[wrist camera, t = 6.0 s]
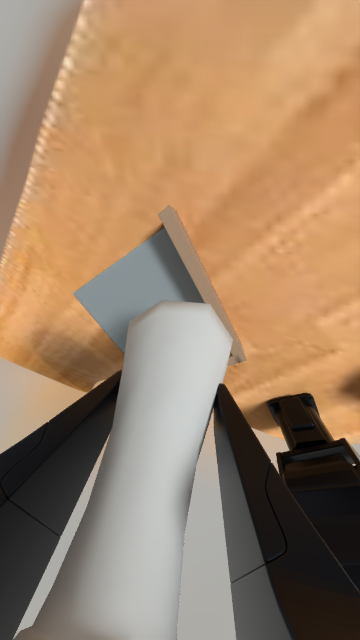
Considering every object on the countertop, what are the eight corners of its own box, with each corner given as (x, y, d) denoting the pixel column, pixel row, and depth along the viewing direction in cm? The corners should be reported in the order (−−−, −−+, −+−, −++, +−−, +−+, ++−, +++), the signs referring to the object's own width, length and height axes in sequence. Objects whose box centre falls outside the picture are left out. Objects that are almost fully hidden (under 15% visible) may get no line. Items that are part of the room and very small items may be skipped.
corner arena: (240, 343, 22) (246, 360, 19) (142, 376, 28) (134, 394, 25) (176, 211, 16) (169, 204, 13) (69, 290, 22) (47, 299, 19)
